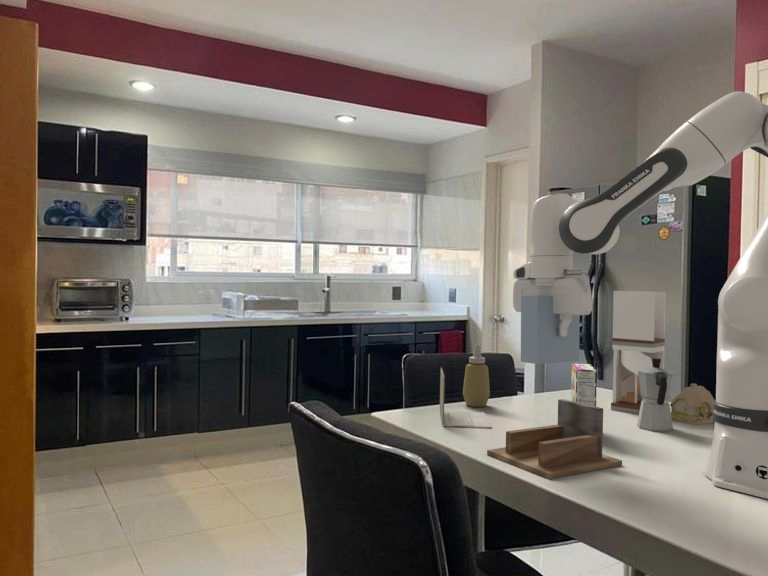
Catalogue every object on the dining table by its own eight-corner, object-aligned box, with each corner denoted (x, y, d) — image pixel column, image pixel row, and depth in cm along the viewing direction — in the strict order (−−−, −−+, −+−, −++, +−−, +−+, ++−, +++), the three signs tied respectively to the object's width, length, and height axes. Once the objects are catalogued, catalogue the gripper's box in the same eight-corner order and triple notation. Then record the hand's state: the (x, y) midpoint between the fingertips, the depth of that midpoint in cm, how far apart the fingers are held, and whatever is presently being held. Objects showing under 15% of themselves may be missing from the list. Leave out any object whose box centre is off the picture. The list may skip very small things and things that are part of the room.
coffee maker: (631, 421, 164) (633, 354, 164) (666, 423, 163) (668, 356, 162) (643, 434, 150) (645, 361, 150) (682, 437, 148) (684, 363, 148)
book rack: (621, 465, 123) (623, 410, 123) (549, 479, 113) (550, 420, 113) (556, 444, 139) (557, 395, 139) (487, 454, 129) (488, 402, 129)
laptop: (492, 430, 153) (493, 378, 153) (441, 428, 153) (443, 376, 153) (484, 414, 171) (485, 368, 171) (439, 413, 171) (440, 367, 171)
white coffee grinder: (610, 409, 180) (613, 290, 179) (623, 404, 188) (626, 291, 187) (651, 415, 172) (654, 291, 172) (663, 410, 180) (665, 291, 180)
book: (579, 361, 131) (579, 296, 131) (537, 364, 125) (537, 296, 125) (562, 358, 136) (562, 295, 136) (520, 361, 130) (521, 295, 130)
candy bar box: (569, 427, 156) (571, 363, 156) (590, 428, 155) (591, 364, 155) (574, 437, 145) (575, 368, 145) (596, 439, 144) (597, 369, 144)
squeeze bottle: (462, 402, 186) (463, 343, 186) (489, 403, 185) (490, 344, 185) (462, 407, 178) (463, 345, 178) (490, 408, 177) (491, 346, 177)
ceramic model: (691, 425, 161) (691, 388, 161) (658, 416, 172) (658, 381, 172) (729, 422, 166) (730, 385, 166) (695, 414, 177) (696, 379, 177)
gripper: (599, 269, 123) (599, 338, 123) (529, 271, 141) (529, 331, 141) (577, 268, 120) (576, 339, 120) (508, 271, 138) (508, 332, 138)
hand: (550, 335), depth 131 cm, fingers closed on book, 5 cm apart
